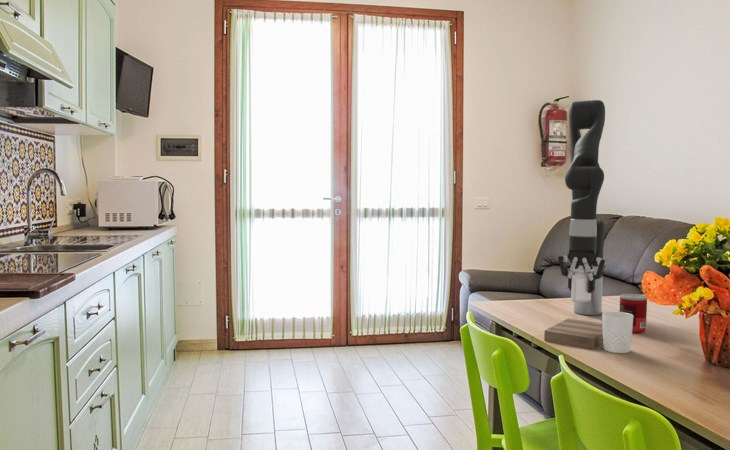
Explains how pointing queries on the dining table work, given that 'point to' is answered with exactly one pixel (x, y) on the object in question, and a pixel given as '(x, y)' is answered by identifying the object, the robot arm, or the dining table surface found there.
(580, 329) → the walnut base board
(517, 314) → the dining table surface
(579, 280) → the eye dropper bottle
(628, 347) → the white cup
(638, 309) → the canned food
